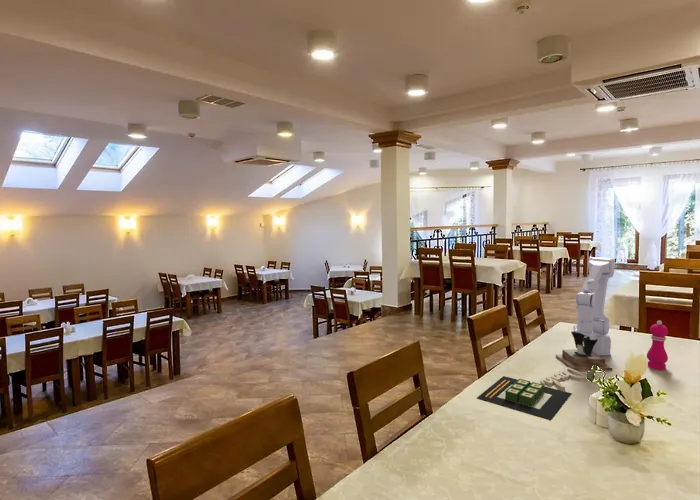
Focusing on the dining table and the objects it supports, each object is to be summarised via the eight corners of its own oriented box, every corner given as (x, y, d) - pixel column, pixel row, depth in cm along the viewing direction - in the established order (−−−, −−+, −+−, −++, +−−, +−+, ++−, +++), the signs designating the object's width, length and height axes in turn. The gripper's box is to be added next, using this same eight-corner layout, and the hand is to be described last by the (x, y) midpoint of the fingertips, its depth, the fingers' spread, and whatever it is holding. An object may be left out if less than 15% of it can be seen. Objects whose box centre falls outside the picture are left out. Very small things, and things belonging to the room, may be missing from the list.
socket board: (591, 356, 194) (591, 347, 193) (612, 370, 178) (612, 360, 177) (555, 356, 194) (555, 348, 193) (573, 370, 178) (573, 361, 178)
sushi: (503, 378, 173) (503, 369, 172) (571, 395, 157) (571, 385, 156) (476, 399, 154) (476, 390, 154) (550, 422, 138) (551, 411, 137)
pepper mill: (647, 368, 179) (650, 321, 177) (645, 363, 185) (647, 317, 183) (668, 371, 175) (672, 323, 173) (665, 365, 182) (668, 319, 180)
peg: (585, 359, 187) (585, 343, 187) (588, 362, 183) (589, 346, 183) (575, 359, 188) (576, 343, 187) (578, 362, 184) (579, 346, 183)
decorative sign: (567, 366, 179) (591, 374, 171) (566, 370, 179) (591, 378, 171) (535, 380, 166) (560, 389, 158) (535, 384, 166) (560, 393, 158)
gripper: (567, 315, 191) (565, 345, 192) (584, 325, 177) (582, 357, 178) (583, 315, 191) (581, 345, 192) (601, 324, 176) (599, 357, 178)
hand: (583, 351), depth 185 cm, fingers open, 7 cm apart
